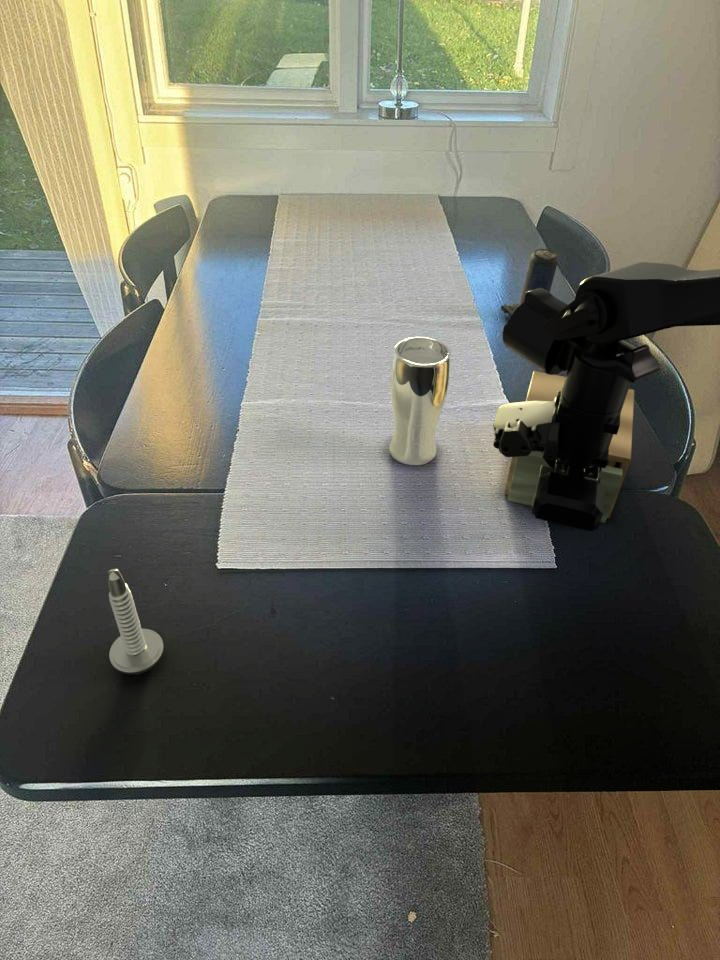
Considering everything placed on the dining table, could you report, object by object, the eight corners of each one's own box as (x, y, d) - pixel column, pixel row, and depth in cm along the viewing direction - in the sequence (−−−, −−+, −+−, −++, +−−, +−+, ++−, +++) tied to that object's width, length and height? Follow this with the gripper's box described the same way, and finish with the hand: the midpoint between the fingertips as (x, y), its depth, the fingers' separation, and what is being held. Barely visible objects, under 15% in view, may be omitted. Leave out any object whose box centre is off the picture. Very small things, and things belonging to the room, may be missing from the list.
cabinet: (609, 518, 83) (631, 459, 77) (503, 494, 86) (516, 435, 80) (615, 446, 93) (634, 389, 88) (520, 427, 96) (533, 370, 90)
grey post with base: (560, 325, 118) (577, 257, 111) (524, 335, 116) (539, 266, 108) (527, 303, 124) (540, 237, 116) (492, 311, 121) (503, 244, 114)
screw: (141, 694, 64) (102, 670, 65) (177, 656, 67) (139, 634, 69) (112, 602, 55) (68, 577, 57) (155, 564, 58) (113, 541, 60)
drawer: (602, 548, 78) (620, 500, 73) (501, 523, 80) (512, 475, 76) (611, 454, 91) (626, 408, 86) (523, 435, 93) (533, 390, 88)
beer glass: (440, 469, 89) (454, 367, 79) (386, 467, 89) (393, 365, 79) (437, 435, 94) (450, 336, 84) (385, 434, 94) (392, 334, 84)
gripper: (521, 335, 75) (497, 449, 85) (491, 435, 61) (467, 557, 71) (629, 355, 72) (591, 470, 82) (622, 463, 59) (578, 585, 69)
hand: (556, 515), depth 76 cm, fingers closed
